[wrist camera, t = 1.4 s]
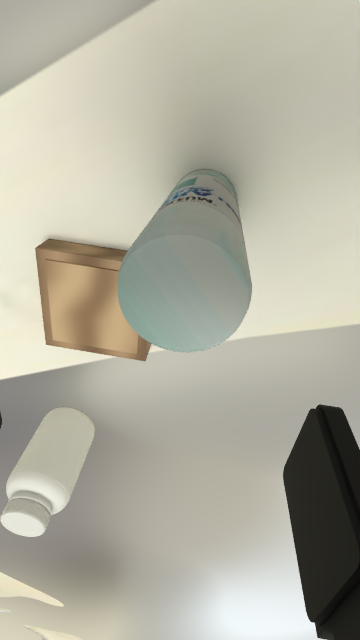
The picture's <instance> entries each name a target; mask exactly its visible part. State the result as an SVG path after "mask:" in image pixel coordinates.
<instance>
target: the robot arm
mask: <svg viewBox="0 0 360 640" xmlns="http://www.w3.org/2000/svg"><path fill="white" fill-rule="evenodd" d="M1 425H2V418H1V414H0V428H1ZM283 479H284V486H285V491H286V497H287V503H288V508H289V514H290V520H291V525H292V532H293V538H294V543H295V549H296V554H297V561H298V566H299V572H300V578H301V584H302V589H303V595H304V601H305V607H306V612H307V615H308V618H309V620H310V621H311V622H314V623H315V626H316V631H317V637H318V638H321V639H327V640H360V450H359V447H358V445H357V442H356V440H355V438H354V435H353V433H352V431H351V428H350V426H349V424H348V421H347V418H346V416H345V414H344V412H343V410H342V409H341V408H339V407H332V406H326V405H318V406H317V407H316V409H310V411H309V413H308V415H307V418H306V420H305V422H304V424H303V426H302V429H301V431H300V433H299V435H298V437H297V440H296V442H295V444H294V446H293V449H292V451H291V453H290V455H289V458H288V460H287V462H286V464H285V467H284V472H283Z"/></svg>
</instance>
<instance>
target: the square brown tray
mask: <svg viewBox="0 0 360 640" xmlns="http://www.w3.org/2000/svg"><path fill="white" fill-rule="evenodd" d="M35 250H36V259H37V268H38V277H39V286H40V295H41V304H42V313H43V322H44V331H45V340H46V345H51V346H57V347H63V348H69V349H75V350H81V351H87V352H93V353H99V354H105V355H111V356H117V357H123V358H129V359H135V360H141V361H146V358H147V355H148V352H149V349H150V344H151V343H150V342H148V341H147V340H145V339H144V338H142V337H141V336H140V335H139V334H137V333H136V332H135V331H134V330H133V328H132V327H131V326H130V325H129V323H128V322H127V320H126V319H125V317H124V315H123V313H122V311H121V308H120V305H119V301H118V292H117V287H118V273H119V269H120V265H121V263H122V260H123V258H124V256H125V255H126V253H127V252H128V251H123V250H117V249H111V248H104V247H98V246H91V245H85V244H78V243H72V242H65V241H59V240H53V239H48V240H46V241H45V242H43V243H42V244H41V245H39V246H38V247H36V248H35Z"/></svg>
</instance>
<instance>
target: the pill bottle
mask: <svg viewBox="0 0 360 640" xmlns="http://www.w3.org/2000/svg"><path fill="white" fill-rule="evenodd" d="M94 434H95V427H94V424H93V422H92V420H91V419H90V418H89V417H88V416H87V415H86V414H84V413H83V412H81V411H79V410H77V409H73V408H69V407H58V408H55V409H53V410H51V411H50V412H48V413H47V414H46V416H45V417H44V419H43V420H42V422H41V424H40V426H39V427H38V429H37V431H36V432H35V434H34V436H33V437H32V439H31V441H30V443H29V444H28V446H27V448H26V449H25V451H24V453H23V454H22V456H21V458H20V460H19V461H18V463H17V465H16V466H15V468H14V470H13V472H12V473H11V475H10V477H9V479H8V481H7V485H6V493H7V496H8V498H9V501H8V504H7V505H6V507H5V509H4V511H3V513H2V515H1V523H2V524H3V526H4V527H5V528H7V529H8V530H10V531H11V532H14V533H16V534H18V535H22V536H28V537H35V536H39V535H41V534H43V533H44V532H45V530H46V528H47V525H48V523H49V520H50V517H51V515H52V514H55V513H57V512H59V511H61V510H62V509H63V508H64V507H65V506H66V504H67V503H68V501H69V499H70V496H71V494H72V491H73V489H74V486H75V484H76V481H77V479H78V476H79V474H80V471H81V468H82V466H83V463H84V461H85V458H86V456H87V453H88V450H89V448H90V446H91V443H92V440H93V438H94Z"/></svg>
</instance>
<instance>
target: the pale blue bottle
mask: <svg viewBox="0 0 360 640" xmlns="http://www.w3.org/2000/svg"><path fill="white" fill-rule="evenodd" d="M117 292H118V301H119V305H120V308H121V311H122V313H123V315H124V317H125V319H126V320H127V322H128V323H129V325H130V326H131V327H132V328H133V330H134V331H135V332H136V333H137V334H139V335H140V336H141V337H142V338H144V339H145V340H147V341H148V342H150V343H152V344H154V345H156V346H158V347H160V348H163V349H167V350H171V351H177V352H196V351H202V350H206V349H209V348H212V347H214V346H216V345H219V344H220V343H222V342H224V341H225V340H226V339H228V338H229V337H230V336H231V335H232V334H233V333H234V332H235V331H236V330H237V329H238V327H239V326H240V324H241V323H242V321H243V319H244V317H245V314H246V312H247V310H248V307H249V304H250V301H251V294H252V284H251V277H250V271H249V265H248V260H247V254H246V248H245V242H244V236H243V231H242V225H241V219H240V213H239V208H238V202H237V196H236V192H235V190H234V187H233V186H232V184H231V183H230V181H229V180H228V179H227V178H226V177H225V176H223V175H222V174H220V173H218V172H216V171H213V170H205V169H204V170H197V171H194V172H191V173H189V174H188V175H186V176H185V177H184V178H182V179H181V180H180V182H179V183H178V184H177V186H176V187H175V188H174V190H173V191H172V192H171V194H170V195H169V196H168V198H167V199H166V200H165V202H164V203H163V204H162V206H161V207H160V208H159V210H158V211H157V213H156V214H155V215H154V217H153V218H152V219H151V221H150V222H149V223H148V225H147V226H146V227H145V229H144V230H143V231H142V233H141V234H140V235H139V237H138V238H137V239H136V241H135V242H134V243H133V245H132V246H131V247H130V249H129V250H128V252H127V253H126V255H125V256H124V258H123V260H122V263H121V265H120V269H119V273H118V287H117Z"/></svg>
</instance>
